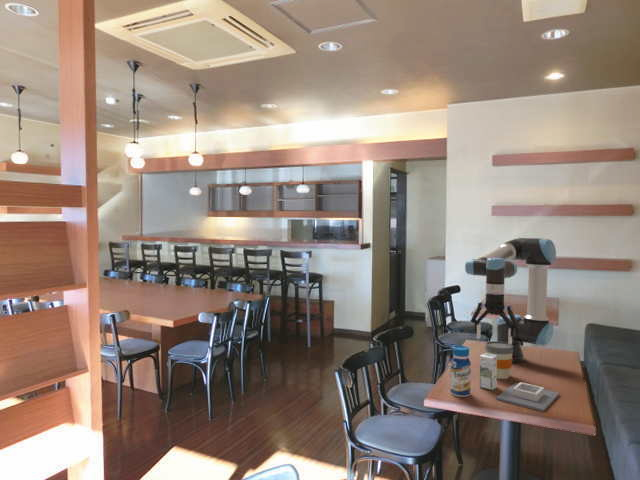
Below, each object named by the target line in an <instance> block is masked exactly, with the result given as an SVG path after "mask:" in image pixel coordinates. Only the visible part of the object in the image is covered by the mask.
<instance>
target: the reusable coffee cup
mask: <svg viewBox="0 0 640 480" xmlns="http://www.w3.org/2000/svg"><path fill="white" fill-rule="evenodd" d="M484 347H485V348H484V350H485V353H486V354H492V355H497V379H498V380H506V379H509V378H510V373H511V369H512V365H513V363H512V360H513V357H512V353H513V345H511V344H510V345H509V344H508V343H506V342H499V341H497V340H496V341H495V340H493V341H492V340H491V341H486V342H485V346H484ZM497 379H496V380H497Z"/></svg>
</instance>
